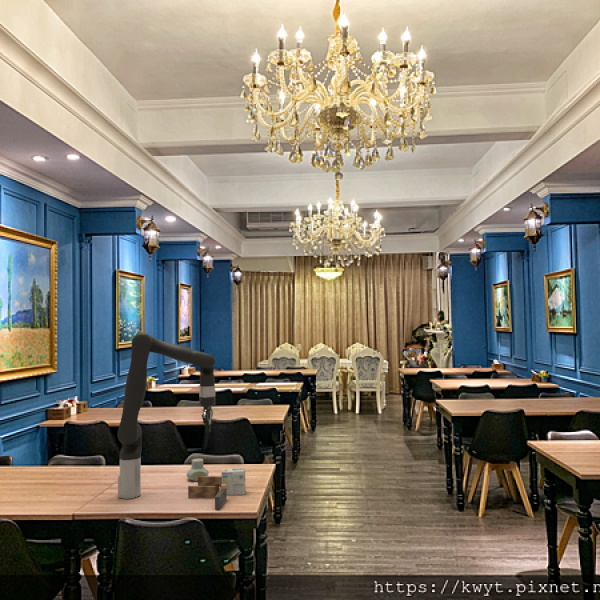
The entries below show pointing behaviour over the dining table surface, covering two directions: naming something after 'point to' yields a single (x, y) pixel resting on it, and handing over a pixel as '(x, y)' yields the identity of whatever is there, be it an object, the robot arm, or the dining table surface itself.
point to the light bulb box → (234, 480)
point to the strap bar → (221, 497)
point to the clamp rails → (205, 487)
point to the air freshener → (197, 470)
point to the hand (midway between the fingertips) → (207, 432)
